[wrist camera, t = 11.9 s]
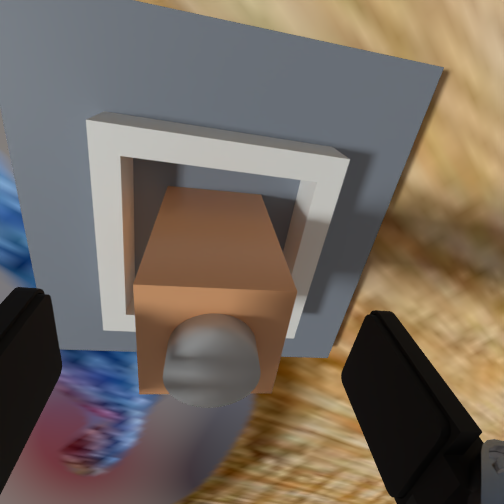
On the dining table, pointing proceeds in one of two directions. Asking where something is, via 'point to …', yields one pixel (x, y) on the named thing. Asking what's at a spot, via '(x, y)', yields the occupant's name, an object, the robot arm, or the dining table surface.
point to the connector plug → (211, 299)
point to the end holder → (195, 149)
